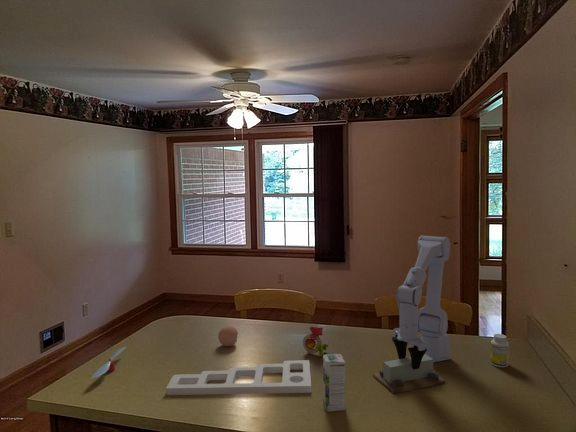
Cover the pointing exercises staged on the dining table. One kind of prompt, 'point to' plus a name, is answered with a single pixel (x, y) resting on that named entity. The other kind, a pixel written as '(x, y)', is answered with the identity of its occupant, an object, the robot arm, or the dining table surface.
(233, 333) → the toy ball
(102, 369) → the propeller
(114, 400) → the dining table surface
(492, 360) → the supplement bottle
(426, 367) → the block
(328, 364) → the syrup box
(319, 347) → the bird rattle
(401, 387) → the cradle board
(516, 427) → the dining table surface
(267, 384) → the holder
